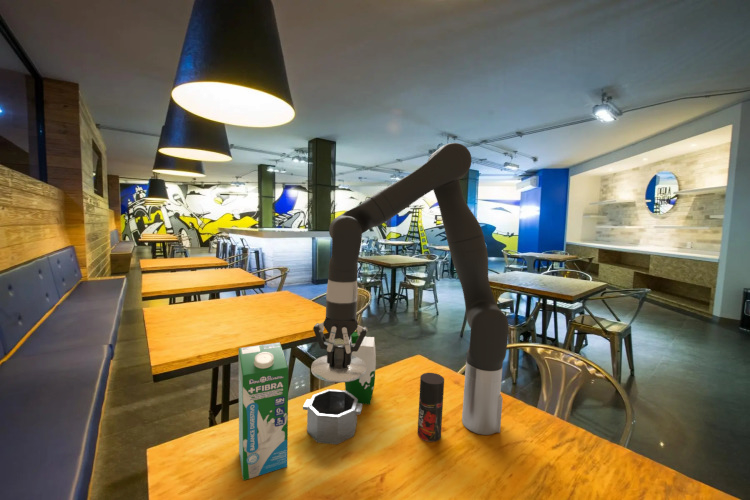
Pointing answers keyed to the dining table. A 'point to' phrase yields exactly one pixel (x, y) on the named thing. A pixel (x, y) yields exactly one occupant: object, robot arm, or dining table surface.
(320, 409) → the pot
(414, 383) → the dining table surface
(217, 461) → the dining table surface
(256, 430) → the milk carton
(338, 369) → the lid
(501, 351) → the robot arm
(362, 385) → the soya milk
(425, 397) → the deodorant
